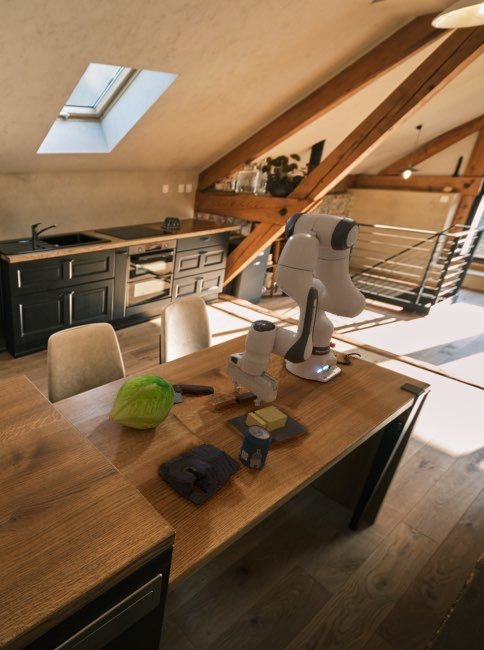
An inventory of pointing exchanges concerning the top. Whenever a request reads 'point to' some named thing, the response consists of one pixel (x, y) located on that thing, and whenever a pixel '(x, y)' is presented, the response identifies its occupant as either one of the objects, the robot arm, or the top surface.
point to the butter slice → (254, 420)
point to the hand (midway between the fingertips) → (246, 397)
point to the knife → (237, 399)
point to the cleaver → (190, 390)
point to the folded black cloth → (199, 471)
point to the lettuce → (142, 402)
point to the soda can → (255, 447)
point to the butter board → (275, 433)
